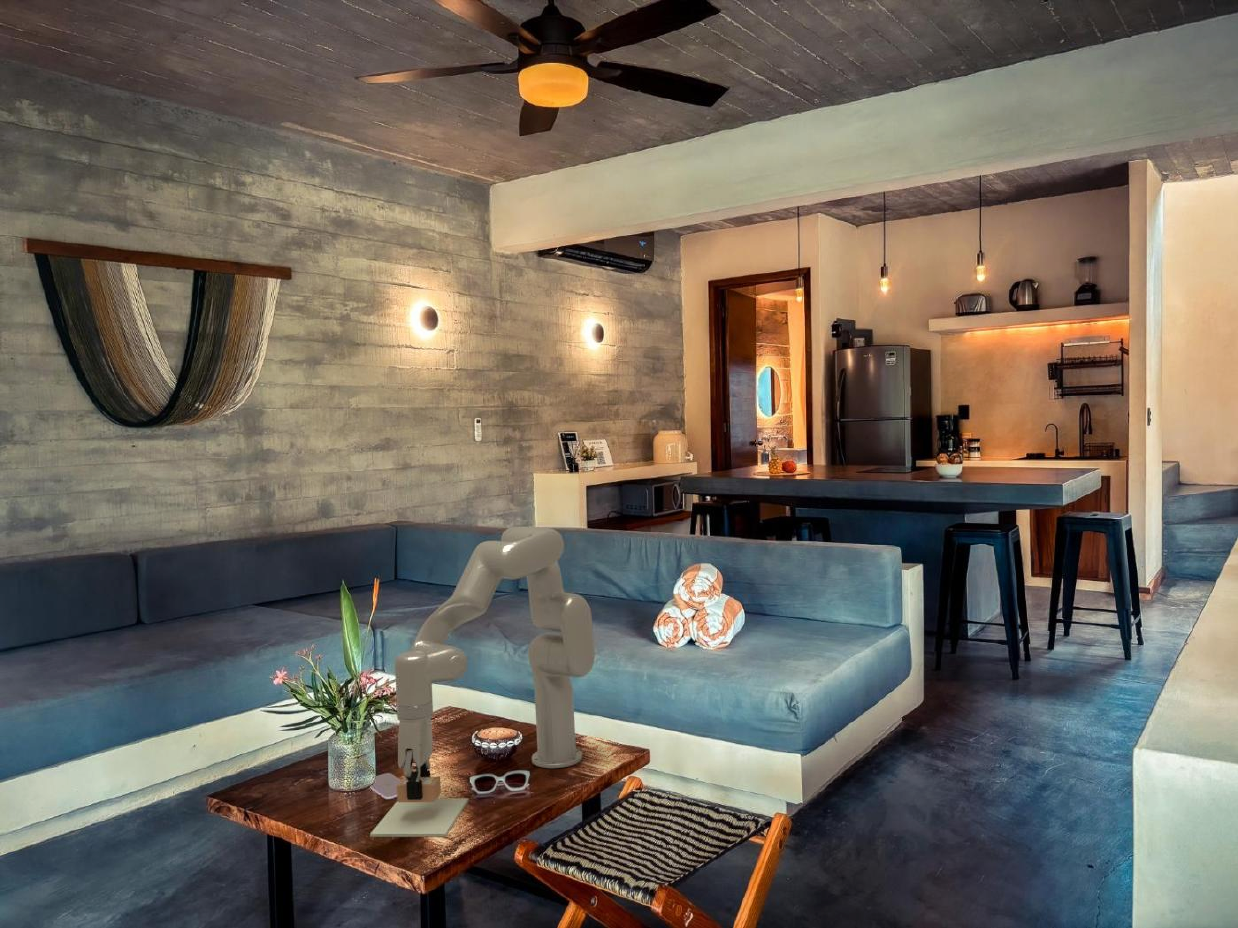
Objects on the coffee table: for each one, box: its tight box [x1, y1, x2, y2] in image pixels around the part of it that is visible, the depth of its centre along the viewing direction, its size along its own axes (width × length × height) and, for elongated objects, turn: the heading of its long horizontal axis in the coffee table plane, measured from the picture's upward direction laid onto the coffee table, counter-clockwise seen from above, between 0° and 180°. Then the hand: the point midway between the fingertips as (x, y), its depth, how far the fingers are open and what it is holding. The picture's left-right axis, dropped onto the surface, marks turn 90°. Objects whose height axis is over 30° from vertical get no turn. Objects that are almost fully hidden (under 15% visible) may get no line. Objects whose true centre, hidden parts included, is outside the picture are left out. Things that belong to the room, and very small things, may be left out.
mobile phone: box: [369, 772, 402, 800], centre depth 218 cm, size 8×1×15 cm
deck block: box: [396, 776, 442, 802], centre depth 199 cm, size 8×5×4 cm, turn 85°
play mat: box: [369, 797, 469, 838], centre depth 199 cm, size 18×16×1 cm
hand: (419, 792), depth 199 cm, fingers closed on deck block, 5 cm apart
